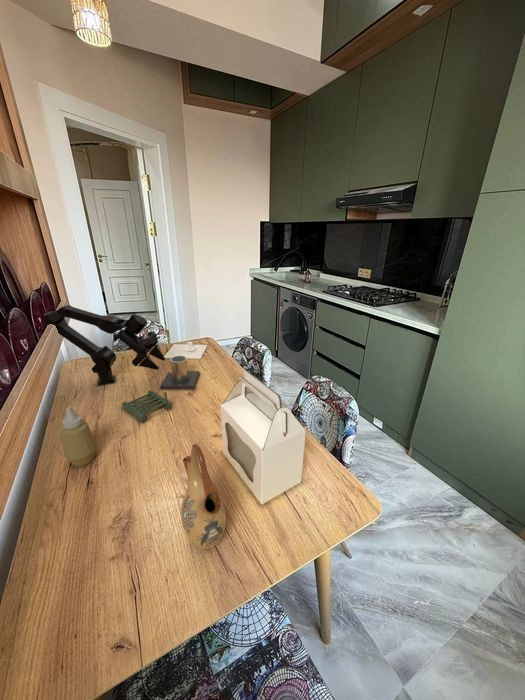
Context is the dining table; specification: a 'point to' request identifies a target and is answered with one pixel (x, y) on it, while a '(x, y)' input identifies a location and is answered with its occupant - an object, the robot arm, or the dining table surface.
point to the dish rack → (150, 395)
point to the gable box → (262, 438)
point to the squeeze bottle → (77, 439)
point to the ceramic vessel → (201, 504)
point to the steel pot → (179, 368)
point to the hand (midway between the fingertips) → (161, 364)
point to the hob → (184, 384)
